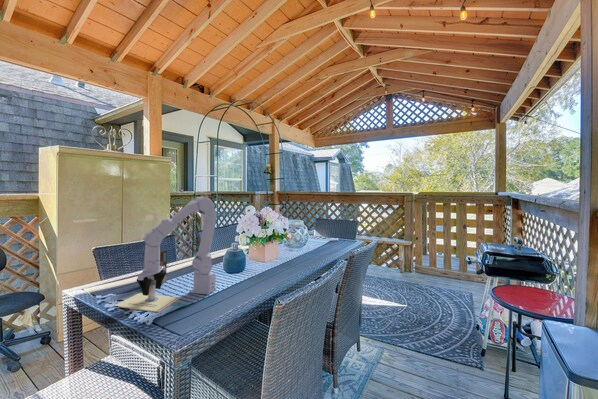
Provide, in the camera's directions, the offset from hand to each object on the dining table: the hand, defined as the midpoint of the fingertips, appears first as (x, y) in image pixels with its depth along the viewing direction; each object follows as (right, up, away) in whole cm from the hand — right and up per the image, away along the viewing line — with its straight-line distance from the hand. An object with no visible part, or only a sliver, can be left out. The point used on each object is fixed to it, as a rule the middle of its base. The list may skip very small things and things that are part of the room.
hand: (151, 291), depth 122 cm
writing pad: (-1, -4, -2) cm, 4 cm away
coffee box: (-9, -3, +20) cm, 22 cm away
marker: (0, -3, 0) cm, 3 cm away
